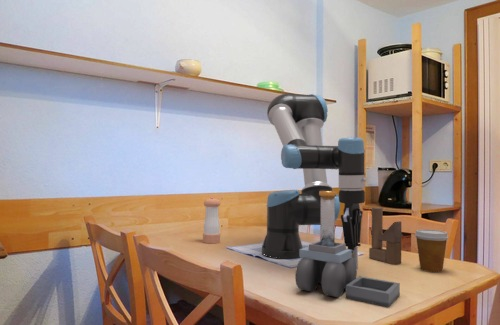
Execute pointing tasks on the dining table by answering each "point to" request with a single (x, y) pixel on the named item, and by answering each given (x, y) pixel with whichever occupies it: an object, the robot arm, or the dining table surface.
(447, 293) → the dining table surface
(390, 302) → the tray
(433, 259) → the disposable coffee cup
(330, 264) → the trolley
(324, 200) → the capped glass tube
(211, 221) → the salt shaker
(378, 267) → the dining table surface
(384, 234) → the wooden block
